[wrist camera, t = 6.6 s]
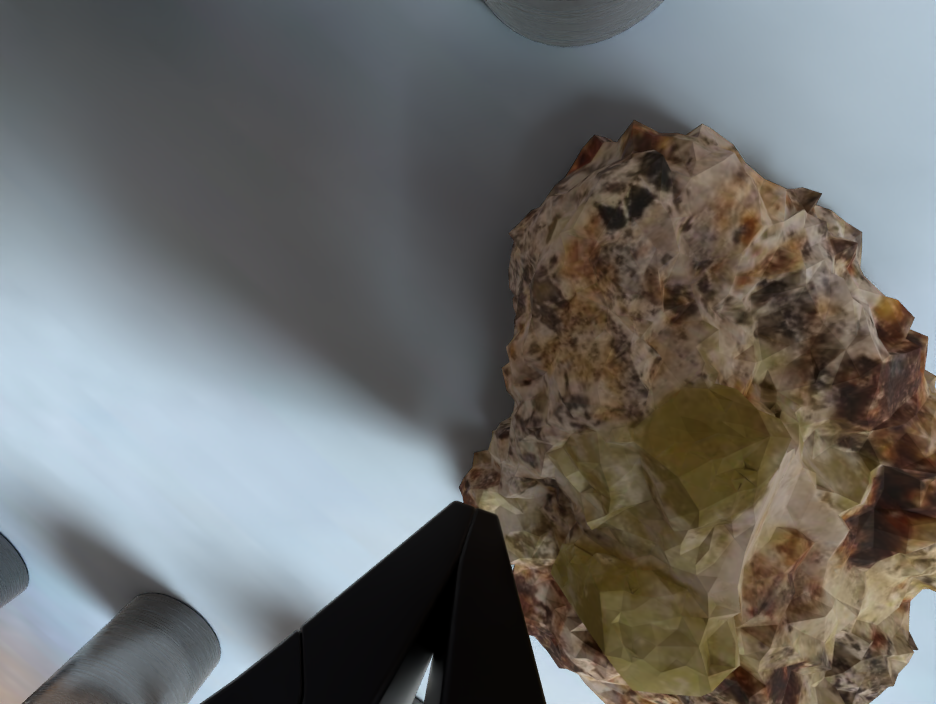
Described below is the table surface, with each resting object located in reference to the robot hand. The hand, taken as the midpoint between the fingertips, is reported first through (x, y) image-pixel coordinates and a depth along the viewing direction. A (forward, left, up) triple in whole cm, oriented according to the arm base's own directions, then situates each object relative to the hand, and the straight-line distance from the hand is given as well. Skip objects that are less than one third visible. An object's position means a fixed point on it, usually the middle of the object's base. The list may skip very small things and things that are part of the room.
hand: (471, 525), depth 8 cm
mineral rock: (+3, +2, -2) cm, 4 cm away
